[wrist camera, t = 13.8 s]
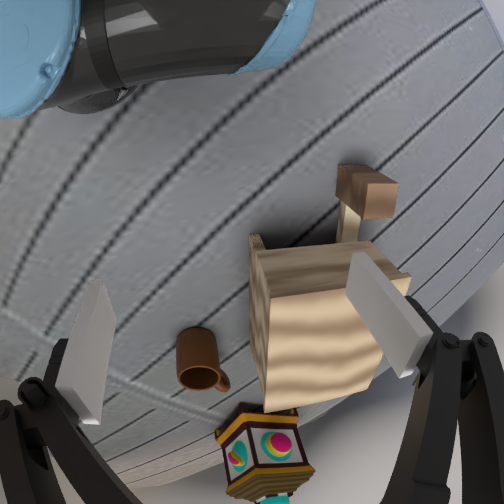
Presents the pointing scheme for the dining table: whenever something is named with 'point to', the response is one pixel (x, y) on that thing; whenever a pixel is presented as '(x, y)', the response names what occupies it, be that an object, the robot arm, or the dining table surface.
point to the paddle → (362, 198)
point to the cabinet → (310, 322)
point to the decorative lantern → (263, 456)
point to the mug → (199, 361)
